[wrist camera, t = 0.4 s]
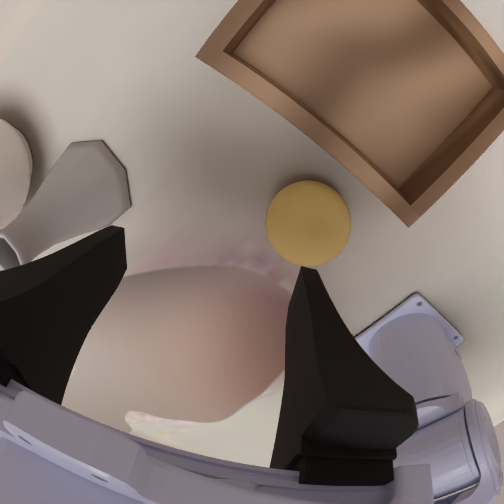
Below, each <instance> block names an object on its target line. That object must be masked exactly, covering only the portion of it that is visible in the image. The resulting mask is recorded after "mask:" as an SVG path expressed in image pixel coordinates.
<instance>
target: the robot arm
mask: <svg viewBox="0 0 504 504" xmlns="http://www.w3.org/2000/svg"><path fill="white" fill-rule="evenodd" d="M126 269H127V261H126V248H125V233H124V228H122V227H117V226H113V225H111V226H109V227H106V228H104V229H102V230H100V231H97V232H95V233H93V234H91V235H89V236H87V237H85V238H83V239H81V240H79V241H77V242H75V243H73V244H71V245H69V246H67V247H65V248H63V249H61V250H59V251H57V252H54V253H52V254H50V255H48V256H45V257H43V258H40V259H38V260H35V261H32V262H30V263H27V264H23V265H20V266H17V267H13V268H10V269H6V270H2V271H0V504H493V503H494V502H495V501H496V499H497V498H498V496H499V494H500V491H501V487H502V484H503V473H502V469H501V461H500V460H501V459H500V451H499V446H498V441H497V437H496V433H495V430H494V427H493V424H492V421H491V418H490V416H489V413H488V411H487V409H486V407H485V405H484V404H483V403H482V402H479V401H476V400H475V399H472V391H471V387H470V384H469V381H468V378H467V375H466V372H465V369H464V366H463V363H462V360H461V357H460V354H459V351H458V349H457V346H459V345H460V344H462V343H463V341H464V338H463V336H462V335H461V334H460V333H459V332H458V331H457V330H456V329H455V328H454V327H453V326H452V325H451V324H450V323H449V322H448V321H447V320H446V319H445V318H444V317H443V316H442V315H441V314H440V313H439V312H438V311H437V310H436V309H435V308H434V307H432V306H431V305H430V304H429V303H428V302H427V301H426V300H425V299H424V298H423V297H422V296H421V295H420V294H414V295H412V296H411V297H409V298H408V299H407V300H406V301H404V302H403V303H402V304H401V305H399V306H398V307H397V308H395V309H394V310H393V311H391V312H390V313H389V314H387V315H386V316H385V317H383V318H382V319H381V320H379V321H378V322H376V323H375V324H374V325H372V326H371V327H370V328H368V329H367V330H365V331H364V332H363V333H361V334H360V335H358V336H357V337H355V338H354V337H353V335H352V334H351V333H350V331H349V330H348V328H347V327H346V325H345V323H344V322H343V320H342V319H341V317H340V315H339V313H338V312H337V310H336V308H335V306H334V304H333V302H332V300H331V298H330V296H329V294H328V292H327V290H326V288H325V286H324V284H323V282H322V280H321V277H320V275H319V273H318V271H317V270H315V269H311V268H306V267H301V269H300V272H299V275H298V278H297V282H296V285H295V288H294V291H293V294H292V297H291V300H290V303H289V307H288V315H287V322H286V344H285V380H284V389H283V396H282V403H281V410H280V416H279V422H278V428H277V433H276V439H275V444H274V449H273V454H272V459H271V463H270V468H267V467H260V466H254V465H248V464H242V463H236V462H231V461H226V460H221V459H216V458H212V457H208V456H203V455H199V454H195V453H191V452H187V451H183V450H180V449H176V448H172V447H169V446H166V445H162V444H159V443H156V442H152V441H149V440H146V439H143V438H140V437H137V436H134V435H131V434H129V433H126V432H123V431H120V430H118V429H115V428H112V427H110V426H107V425H105V424H102V423H100V422H97V421H95V420H92V419H90V418H88V417H85V416H83V415H81V414H78V413H76V412H73V411H72V410H70V409H67V408H65V407H63V406H61V403H62V400H63V396H64V393H65V389H66V386H67V383H68V380H69V377H70V374H71V371H72V369H73V366H74V364H75V361H76V358H77V356H78V354H79V351H80V349H81V347H82V345H83V343H84V340H85V338H86V336H87V334H88V332H89V330H90V329H91V327H92V325H93V324H94V322H95V321H96V319H97V317H98V316H99V314H100V313H101V311H102V310H103V308H104V307H105V305H106V304H107V302H108V301H109V299H110V298H111V296H112V295H113V293H114V292H115V290H116V289H117V287H118V285H119V283H120V282H121V280H122V278H123V275H124V273H125V271H126ZM418 302H420V303H418ZM479 482H480V483H479ZM476 483H478V484H477V485H475V486H474V487H472V488H469V489H467V490H464V491H462V492H459V493H457V494H454V495H451V496H448V497H446V498H443V499H440V500H437V501H434V499H437V498H440V497H443V496H446V495H448V494H451V493H454V492H456V491H459V490H462V489H464V488H467V487H469V486H472V485H474V484H476Z"/></svg>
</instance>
